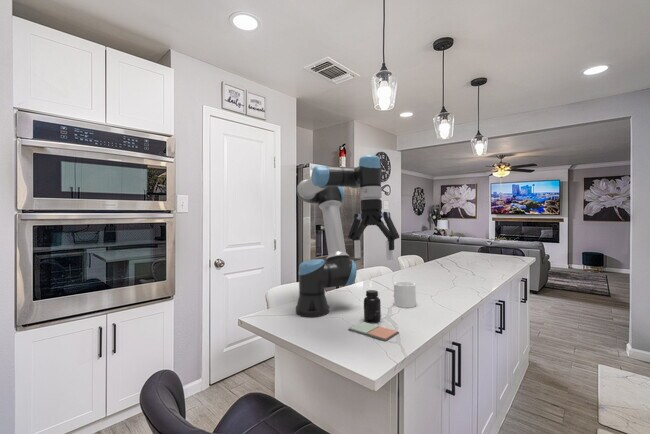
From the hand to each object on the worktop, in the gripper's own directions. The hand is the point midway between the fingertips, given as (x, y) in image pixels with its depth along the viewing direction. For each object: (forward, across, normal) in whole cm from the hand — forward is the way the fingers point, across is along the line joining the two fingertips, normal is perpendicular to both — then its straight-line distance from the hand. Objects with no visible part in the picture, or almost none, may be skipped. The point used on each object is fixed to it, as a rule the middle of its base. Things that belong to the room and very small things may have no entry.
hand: (373, 258), depth 104 cm
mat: (+27, -4, +4) cm, 28 cm away
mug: (+27, -11, +43) cm, 52 cm away
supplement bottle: (+27, -11, +14) cm, 32 cm away
